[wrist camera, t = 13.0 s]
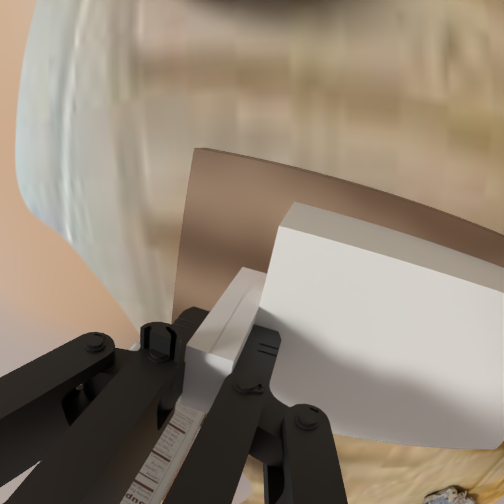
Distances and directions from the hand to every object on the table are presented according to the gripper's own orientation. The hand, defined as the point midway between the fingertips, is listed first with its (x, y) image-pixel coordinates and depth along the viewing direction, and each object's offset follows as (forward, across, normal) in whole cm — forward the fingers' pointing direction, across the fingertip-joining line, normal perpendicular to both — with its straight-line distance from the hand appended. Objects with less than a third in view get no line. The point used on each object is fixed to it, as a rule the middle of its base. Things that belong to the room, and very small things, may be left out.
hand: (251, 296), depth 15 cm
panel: (+2, +9, 0) cm, 9 cm away
